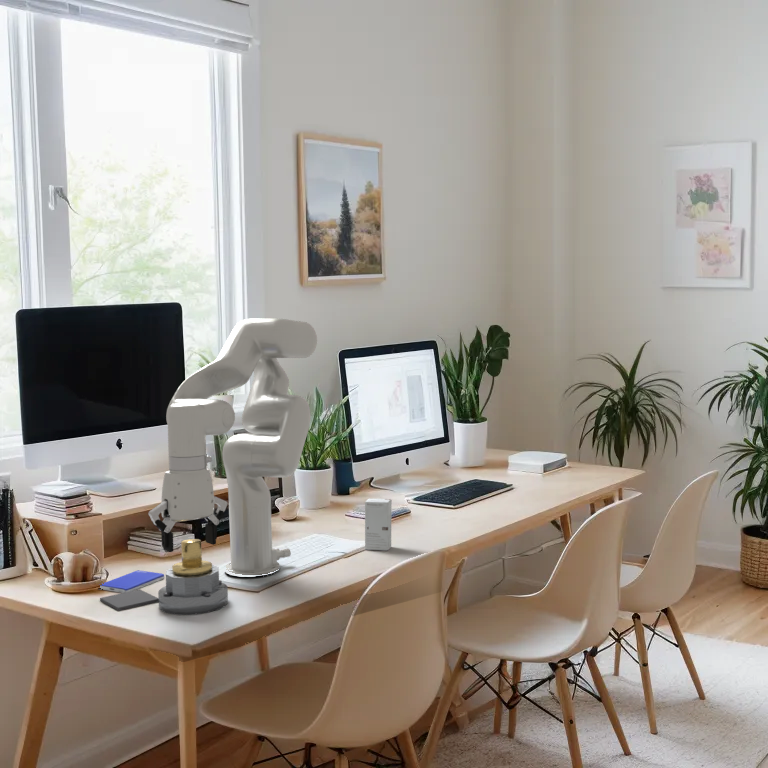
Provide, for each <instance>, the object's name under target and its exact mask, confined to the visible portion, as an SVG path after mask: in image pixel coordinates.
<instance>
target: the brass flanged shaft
mask: <svg viewBox="0 0 768 768" xmlns="http://www.w3.org/2000/svg"><path fill="white" fill-rule="evenodd" d="M180 544H181V562H180V561H179V562H177V563H174V564H172V567H171V568H172V572H173V573H174V574H176V575H183V576H192V575H200V574H205V573H208V572H210V571H211V570H212V565H213V563H212V562H211V561H208V560H204V559H203V557H202V555H203V554H202V552H203V551H202V540H201V539H199V538H190V539H189V538H188V539H184V540H182V541H181V542H180Z"/></svg>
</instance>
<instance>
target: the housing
mask: <svg viewBox="0 0 768 768" xmlns="http://www.w3.org/2000/svg"><path fill="white" fill-rule="evenodd" d="M219 570H220V568H219V566H217V565H214V564H212V570H211V571H210V572H208V573H205V574H200V575H192V576H183V575H176V574H174V573H173V572H172V567H170V568H169V569H166V571H165V586H163V587H161V588H160V589H158V593H157V595H158V597H157V598H159V602H158V609H159V610H160V611H161V612H164V613H166V614H171V615H179V616H185V615H186V616H187V615H188V616H189V615H190V616H191V615H201V614H207V613H212V612H215V611H218V610H220V609H222V608H224V607H226V606H227V605H228V603H229V591H228V590H229V589H228V585H227V584H226V583H224V582H222V580H220V574H219V573H220V571H219Z"/></svg>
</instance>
